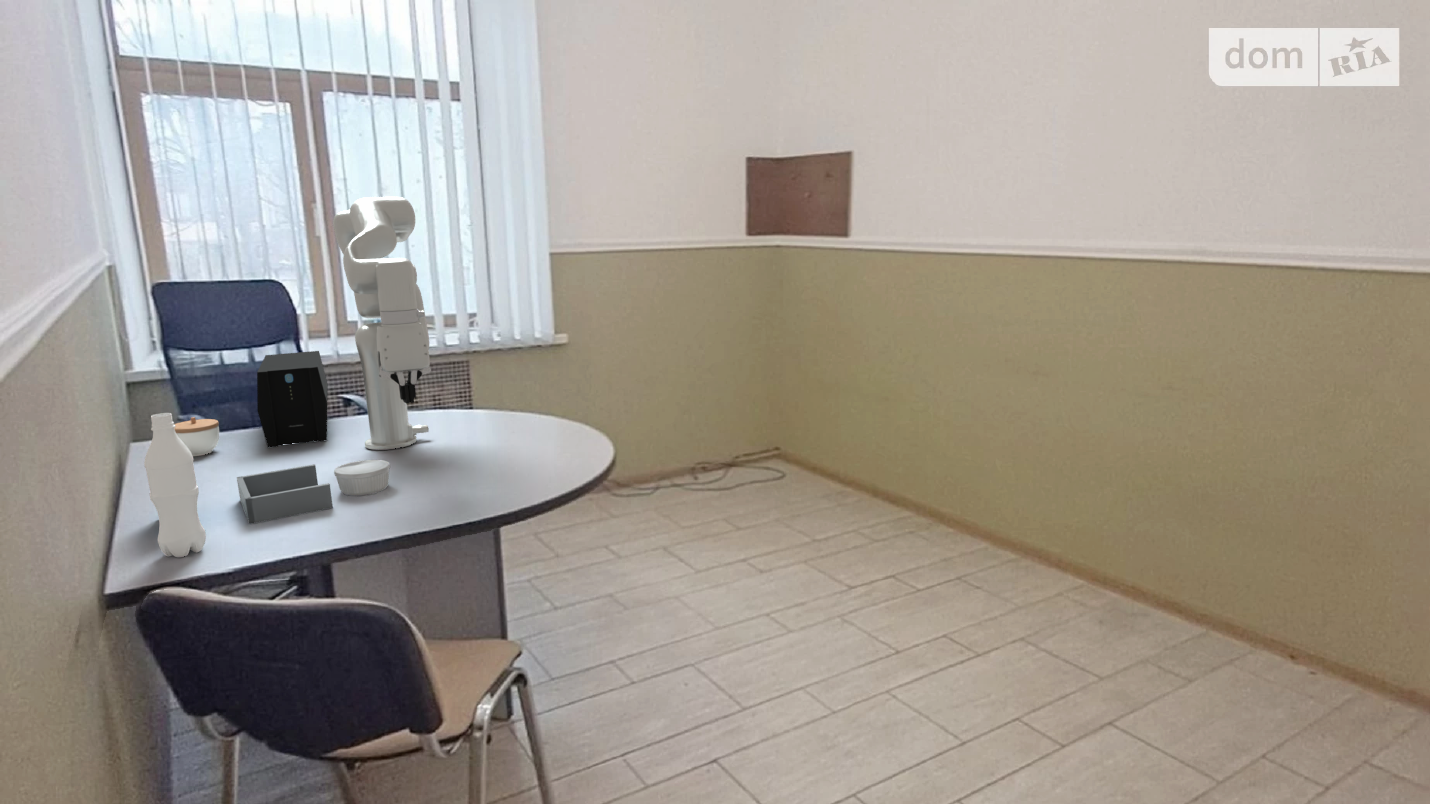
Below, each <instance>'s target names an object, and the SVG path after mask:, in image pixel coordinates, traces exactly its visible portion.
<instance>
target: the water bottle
mask: <svg viewBox="0 0 1430 804" xmlns="http://www.w3.org/2000/svg"><path fill="white" fill-rule="evenodd" d="M172 415H173V414H172V413H171V412H163V413H156V414H152V415H151V416H150V419H151V425H150V426H151V427H150V431H152V439H151V442H150V445H149V446H148V448H147V451H146V454H145V457H144V461H143V462H144V463H143V464H144V465H143V466H144V468H145V471H146V476H147V482H148V487H149V499H150V501H151V502H152V504H153V505H154V508H155V509H156V512H157V516H158V521H159V525H158V526H159V529H158V535H157V544H158V545H159V546H158V547H159V549H160V550H161V552H162V553H163V554H164V555H165V556H166V557H172V556H173V557H175V558H184V556H185V557H187V556H188V555H189V552H190V550H191V551H192V552H194V553H195V554H196V553H199V552H201V551H202V550H203V549H204V546H205V544H206V539H207V534H206V529H205V528H204V526H203V525H202V523H201V520H200V518H199V513H198V498H199V493H200V492H199V486H198V484H197V478H196V477H197V476H196V472H195V466H194V465H195V464H194V456H192V454H191V452H190V450H189V449H188V448H187V446H186V445H185V444H184V443H183V442H182V441H181V439H180V438H179V437H178V436H177V434H176V432H175V429H174V428H175V427H176V426H175V425H174V424H175V422H174V421H173V416H172Z"/></svg>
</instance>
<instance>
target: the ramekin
mask: <svg viewBox="0 0 1430 804" xmlns="http://www.w3.org/2000/svg"><path fill="white" fill-rule="evenodd" d="M390 468H391V465H390V462H388V461H387V460H384V459H383V460H382V459H368V460H367V459H364V460H358V461H352V462H348V463H344V464H341V465H339V466H337V467H335V468H334V471H333V473H334V476H335V478H336V481H337V484H338V488H339V490H340V492H341V493H342V494H343V495H346V496H351V497H358V496H359V497H361V496H368V495H372V494H377V493H380V492H383V491H384V490H386V489H387V487H388V486H389V482H390V481H389V480H390V478H389V477H390V473H389V472H390Z"/></svg>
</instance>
